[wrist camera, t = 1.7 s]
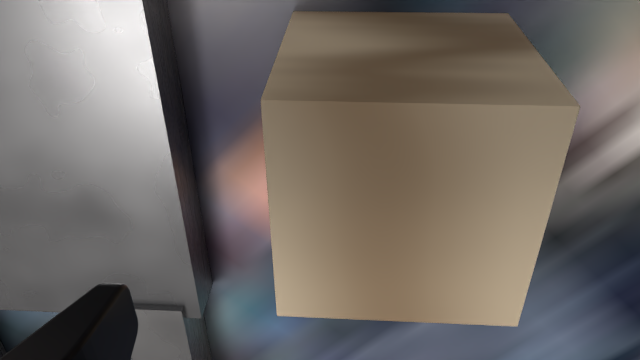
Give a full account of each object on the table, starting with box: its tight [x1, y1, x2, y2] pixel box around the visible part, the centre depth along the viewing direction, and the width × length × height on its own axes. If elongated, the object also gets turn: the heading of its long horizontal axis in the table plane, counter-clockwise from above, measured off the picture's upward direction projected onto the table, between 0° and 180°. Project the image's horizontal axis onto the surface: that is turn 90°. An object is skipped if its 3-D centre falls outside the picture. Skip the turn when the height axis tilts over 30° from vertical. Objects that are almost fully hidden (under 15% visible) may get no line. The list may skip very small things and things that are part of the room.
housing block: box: [261, 11, 580, 326], centre depth 12 cm, size 5×5×5 cm
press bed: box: [0, 0, 213, 360], centre depth 18 cm, size 11×22×2 cm, turn 0°
